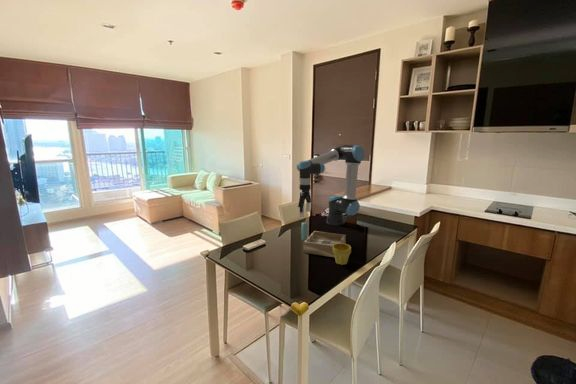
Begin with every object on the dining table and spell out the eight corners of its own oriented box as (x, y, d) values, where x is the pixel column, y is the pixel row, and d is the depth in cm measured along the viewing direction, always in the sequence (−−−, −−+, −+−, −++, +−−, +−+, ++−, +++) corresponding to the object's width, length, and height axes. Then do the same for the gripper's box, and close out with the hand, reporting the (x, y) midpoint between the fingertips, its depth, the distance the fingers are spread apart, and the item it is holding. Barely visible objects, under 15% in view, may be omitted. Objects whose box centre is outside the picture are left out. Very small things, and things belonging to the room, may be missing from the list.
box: (314, 240, 193) (314, 230, 192) (345, 244, 185) (345, 234, 184) (303, 252, 173) (303, 241, 172) (338, 258, 165) (338, 247, 164)
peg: (302, 238, 198) (302, 222, 195) (307, 238, 196) (307, 222, 194) (300, 240, 194) (300, 223, 192) (305, 240, 192) (306, 224, 190)
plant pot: (339, 268, 153) (340, 251, 151) (328, 260, 162) (329, 245, 160) (354, 264, 157) (354, 248, 155) (342, 257, 166) (343, 241, 164)
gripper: (305, 180, 199) (305, 209, 204) (293, 186, 177) (293, 218, 181) (315, 181, 197) (315, 210, 201) (304, 187, 174) (304, 219, 178)
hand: (304, 214), depth 191 cm, fingers open, 13 cm apart
